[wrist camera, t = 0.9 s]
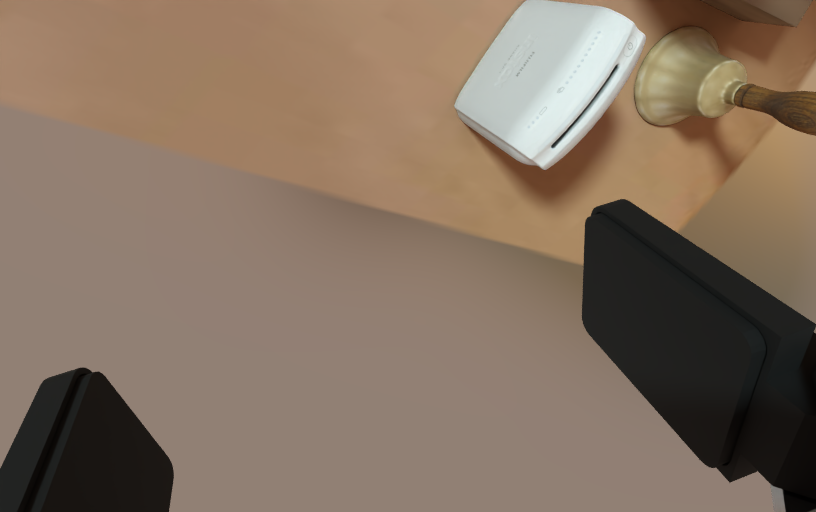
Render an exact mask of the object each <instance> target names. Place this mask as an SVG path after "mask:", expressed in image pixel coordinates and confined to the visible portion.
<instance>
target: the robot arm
mask: <svg viewBox="0 0 816 512" xmlns="http://www.w3.org/2000/svg"><path fill="white" fill-rule="evenodd" d="M582 320H583V324H584V327H585V329H586V331H587V332H588V333H589V335H590V336H591V337H592V338H593V340H594V341H595V342H596V343H597V344H598V345H599V346H600V347H601V348H602V349H603V351H604V352H605V353H606V354H607V355H608V356H609V358H610V359H611V360H612V361H613V362H614V363H615V364H616V365H617V367H618V368H619V369H620V370H621V371H622V372H623V373H624V375H625V376H626V377H627V378H628V379H629V380H630V381H631V382H632V384H633V385H634V386H635V387H636V388H637V389H638V390H639V391H640V393H641V394H642V395H643V396H644V397H645V398H646V399H647V400H648V402H649V403H650V404H651V405H652V406H653V407H654V408H655V410H656V411H657V412H658V413H659V414H660V415H661V416H662V417H663V419H664V420H665V421H666V422H667V423H668V424H669V425H670V426H671V427H672V429H673V430H674V431H675V432H676V433H677V434H678V435H679V437H680V438H681V439H682V440H683V441H684V442H685V443H686V444H687V446H688V447H689V448H690V449H691V450H692V451H693V452H694V454H695V455H696V456H697V457H698V458H699V459H700V460H701V461H702V462H703V463H704V464H705V465H707V466H708V467H711V468H715V467H716V468H717V469H718V470H719V471H720V472H721V473H722V474H723V476H724V477H725V478H726V479H727V480H728V481H729V482H732V481H735V480H737V479H740V478H742V477H745V476H747V475H749V474H752V473H755V472H757V471H758V472H759V473H760V474H761V475H762V476H763V477H764V478H765V479H766V480H767V481H768V482H769V483H770V484H771V492H772V500H773V507H774V512H816V333H814V330H815V327H816V324H815V323H813V322H812V321H810V320H809V319H807V318H806V317H804V316H803V315H801V314H800V313H798V312H796V311H795V310H793V309H792V308H790V307H789V306H787V305H786V304H784V303H783V302H781V301H780V300H778V299H777V298H775V297H774V296H772V295H771V294H769V293H768V292H766V291H765V290H763V289H762V288H760V287H759V286H757V285H756V284H754V283H753V282H751V281H750V280H748V279H746V278H745V277H743V276H742V275H740V274H739V273H737V272H736V271H734V270H733V269H731V268H730V267H728V266H727V265H725V264H724V263H722V262H721V261H719V260H718V259H716V258H715V257H713V256H712V255H710V254H709V253H707V252H705V251H704V250H702V249H701V248H699V247H697V246H696V245H695V244H693V243H692V242H690V241H689V240H687V239H686V238H684V237H683V236H681V235H680V234H678V233H677V232H675V231H674V230H672V229H671V228H669V227H668V226H666V225H664V224H663V223H661V222H660V221H658V220H657V219H655V218H654V217H652V216H651V215H649V214H648V213H646V212H645V211H643V210H642V209H640V208H639V207H637V206H636V205H634V204H633V203H631V202H630V201H628V200H625V199H620V200H617V201H614V202H610V203H607V204H604V205H601V206H598V207H596V208H594V209H593V211H592V214H591V216H590V217H588V218H587V219H586V222H585V242H584V272H583V302H582ZM173 478H174V473H173V467H172V463H171V461H170V459H169V457H168V456H167V455H166V454H165V452H164V451H163V450H162V448H161V447H160V446H159V445H158V443H157V442H156V441H155V440H154V438H153V437H152V436H151V434H150V433H149V432H148V431H147V429H146V428H145V427H144V425H143V424H142V423H141V422H140V420H139V419H138V418H137V417H136V415H135V414H134V413H133V412H132V410H131V409H130V408H129V406H128V405H127V404H126V403H125V401H124V400H123V399H122V397H121V396H120V395H119V394H118V393H117V391H116V390H115V388H114V387H113V386H112V385H111V383H110V382H109V381H108V380H107V378H106V377H105V376H104V375H103V374H102V373H100V372H93V373H92V372H91V371H90V370H89V369H87V368H78V369H75V370H72V371H68V372H65V373H62V374H59V375H56V376H52V377H49V378H47V379H45V380H44V381H43V382H42V384H41V385H40V387H39V389H38V391H37V393H36V395H35V398H34V400H33V402H32V404H31V406H30V408H29V410H28V412H27V414H26V416H25V418H24V421H23V423H22V425H21V427H20V429H19V431H18V434H17V435H16V437H15V439H14V441H13V443H12V445H11V448H10V450H9V452H8V454H7V456H6V458H5V460H4V462H3V464H2V466H1V468H0V512H169V507H170V500H171V492H172V486H173Z"/></svg>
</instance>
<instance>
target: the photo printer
mask: <svg viewBox="0 0 816 512" xmlns="http://www.w3.org/2000/svg"><path fill="white" fill-rule="evenodd" d="M645 41H646V36H645V34H643V33H642V32H641V31H639V30H638V29H637V27H636V26H635V24H634V22H632V21H631V20H629V19H628V18H627V17H625V16H623V15H621V14H619V13H617V12H615V11H613V10H611V9H608V8H605V7H601V6H592V5H583V4H574V3H565V2H555V1H547V0H526V1H525V2H524V3H523V4H522V5H521V6H520V7H519V8H518V9H517V10H516V12H515V13H514V14H513V15H512V17H511V18H510V19H509V21H508V22H507V23H506V25H505V26H504V28H503V29H502V30H501V32H500V33H499V35H498V36H497V37H496V39H495V40H494V42H493V43H492V45H491V46H490V48H489V49H488V50H487V52H486V53H485V55H484V56H483V58H482V59H481V61H480V62H479V64H478V65H477V67H476V69H475V70H474V72H473V73H472V75H471V76H470V78H469V79H468V81H467V82H466V84H465V86H464V87H463V89H462V90H461V92H460V94H459V96H458V98H457V100H456V102H455V105H454V107H455V108H456V109H457V113H458V115H459V117H460V119H461V120H462V121H463V122H464V123H465V124H466V125H468V126H469V127H471V128H472V129H473V130H475V131H476V132H478V133H479V134H480V135H482V136H483V137H485V138H486V139H487V140H489V141H490V142H492V143H493V144H494V145H496V146H497V147H499V148H500V149H502V150H503V151H504V152H506V153H507V154H509V155H510V156H511V157H513V158H514V159H516V160H517V161H519V162H521V163H524V164H527V165H537V166H539V167H540V168H542V169H543V170H547V169H548V168H550V167H551V166H553V165H554V164H555V163H557V162H558V161H559V160H560V159H562V158H563V157H564V156H565V155H566V154H567V153H568V152H569V151H571V150H572V149H573V148H574V147H575V146H576V145H577V144H578V143H579V142H580V141H581V139H582V138H583V137H584V136H585V135H586V134H587V133H588V132H589V131H590V130H591V129H592V128H593V127H594V125H595V124H596V122H597V121H598V120H599V119H600V118H601V117H602V116H603V114H604V112H605V111H606V110H607V109H608V107H609V106H610V105H611V103H612V102H613V101H614V99H615V98H616V96H617V95H618V94H619V92H620V91H621V89H622V87H623V86H624V84H625V83H626V81H627V79H628V78H629V76H630V74H631V72H632V71H633V69H634V67H635V65H636V63H637V61H638V59H639V57H640V55H641V52H642V50H643V47H644V44H645Z"/></svg>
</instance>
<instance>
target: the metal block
mask: <svg viewBox="0 0 816 512" xmlns="http://www.w3.org/2000/svg"><path fill="white" fill-rule="evenodd" d="M701 1H703V2H705V3H707V4H709V5H711V6H713V7H715V8H717V9H719V10H721V11H723V12H726V13H728V14H730V15H732V16H734V17H736V18H738V19H740V20H742V21H749V22H757V23H765V24H774V25H782V26H790V27H797V26H798V24H799V22H800V21H801V19H802V17H803V16H804V14H805V12H806V11H807V9H808V7H809V6H810V4H811V2H812V1H813V0H701Z"/></svg>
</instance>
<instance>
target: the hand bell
mask: <svg viewBox="0 0 816 512" xmlns="http://www.w3.org/2000/svg"><path fill="white" fill-rule="evenodd" d="M634 96H635V102H636V107H637V110H638V112H639V113H640V115H641V117H642V118H643V119H644V120H646V121H647V122H649V123H651V124H654V125H659V126H665V125H670V124H674V123H677V122H680V121H682V120H684V119H685V118H687V117H689V116H702V117H707V118H715V117H719V116H722V115H724V114H726V113H728V112H729V111H730V110H731V109H733V108H734V107H735V106H738V107H742V108H747V109H752V110H756V111H760V112H764V113H767V114H769V115H771V116H773V117H774V118H775V119H777V120H778V121H779V122H781V123H782V124H784V125H786V126H788V127H790V128H792V129H795V130H797V131H800V132H803V133H807V134H811V135H816V92H808V91H796V92H777V91H773V90H769V89H766V88H763V87H759V86H756V85H754V84H747V72H746V69H745V68H744V66H743V65H742V64H741V63H740V62H738V61H736V60H733V59H730V58H728V57H725V56H723V55H721V54H720V52H719V48H718V46H717V43H716V41H715V39H714V38H713V37H712V36H711V35H710V34H709V32H707V31H706V30H704V29H702V28H700V27H694V26H688V27H683V28H679V29H677V30H675V31H673V32H671V33H669V34H667V35H666V36H664V37H663V38H662V39H661V40H660V41H659V42H658V43H657V44H656V45H655V46H654V47H653V48H652V49H651V50H650V52H649V53H648V54H647V56H646V58H645V59H644V61H643V63H642V65H641V67H640V69H639V72H638V75H637V78H636V82H635V90H634Z"/></svg>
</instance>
